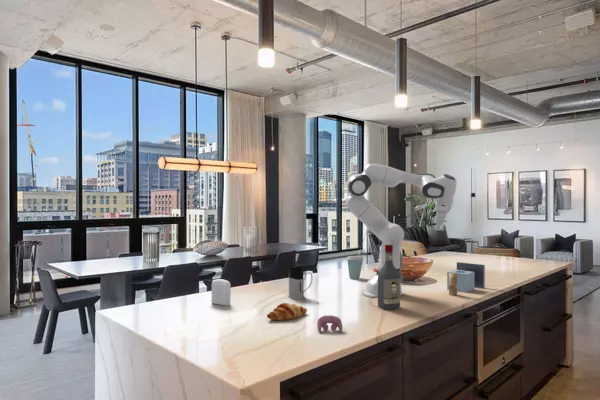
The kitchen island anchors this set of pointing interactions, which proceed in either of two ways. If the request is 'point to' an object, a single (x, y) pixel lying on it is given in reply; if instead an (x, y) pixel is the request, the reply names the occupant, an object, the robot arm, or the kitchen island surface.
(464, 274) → the socket block
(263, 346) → the kitchen island surface
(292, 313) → the croissant
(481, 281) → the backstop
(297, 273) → the grey mug
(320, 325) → the video game controller
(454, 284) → the dowel
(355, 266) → the disposable coffee cup
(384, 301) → the liquor
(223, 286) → the gravestone
